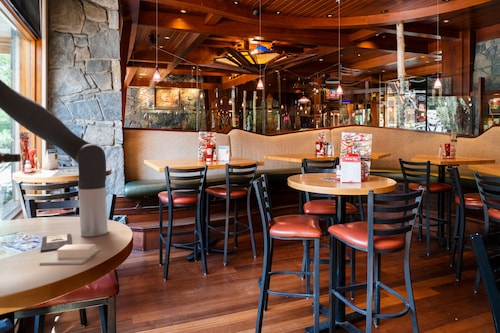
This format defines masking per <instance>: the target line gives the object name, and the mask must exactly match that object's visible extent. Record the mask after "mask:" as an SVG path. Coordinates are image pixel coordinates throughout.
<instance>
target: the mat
mask: <svg viewBox="0 0 500 333" xmlns="http://www.w3.org/2000/svg"><path fill="white" fill-rule="evenodd" d="M99 252H100V248H95V253H94V254H92V255H91V256H90V257H88V258H57V251H56V252H55V253H53V254H51V255H50V256H48V257H47V258H45V259H43V260H42V261H40V262H38V264H39V266H43V265H45V266H47V265H48V266H49V265H50V266H51V265H52V266H53V265H54V266H55V265H56V266H57V265H58V266H59V265H83V264H84V263H86V262H87V261H88V260H90V259H91V258H92V257H94V255H96V254H97V253H99Z"/></svg>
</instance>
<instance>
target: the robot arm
mask: <svg viewBox="0 0 500 333" xmlns="http://www.w3.org/2000/svg"><path fill="white" fill-rule="evenodd" d="M0 109H1V110H2V112H4V113H6V115H8V116H9V117H10V118H11V119H12V120H14V121H15V122H17V124H19V125H20V126H22V127H23V128H25V129H26V130H27V131H29V132H30V133H31V134H33V135H35V136H37V137H38V138H40V139H41V140H43V141H45V142H47V143H49V144H51V145H52V146H54V147H56V148H58V149H60V151H63V152H64V153H65V154H66V155H67V156H69V157H70V158H71V159H72V160H73V161H74V162H76V163H77V166H78V179H77V182H78V183H77V185H78V186H77V187H78V190H77V191H78V206H79V222H80V226H79V227H80V236H81V237H85V238H86V237H88V238H89V237H99V236H102V235H105V234H108V233H109V232H108V230H109V229H108V211H107V190H106V189H107V188H106V182H107V158H106V157H107V156H106V153H105V151H104V149H103V148H102V147H101V146H99V145H97V144H92V143H90V142H89V141H87V140H85V139H84V138H82V137H80V136H78V135H77V134H75V133H74V132H73V131H71V129H69V127H67V125H65V124H64V122H63V121H61V119H60V118H59V117H57V116H56V115H54V114H53V113H52V112H50V111H49V110H48V109H47V108H46V107H44V106H43V105H41V104H40V103H38V102H37V101H35V100H34V99H32V98H30V97H28V96H26V95H24V94H23V93H20V91H19V92H18V91H16V90H15V89H13V88H12V87H10V86H9V85H8V84H6V83H5V82H4V81H3V80H2V79H0ZM21 161H22V156H21V154H20V153H9V152H6V153H3V152H1V151H0V165H1V164H4V163H6V164H7V163H18V162H19V163H20V162H21Z"/></svg>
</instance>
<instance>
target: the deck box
mask: <svg viewBox="0 0 500 333" xmlns="http://www.w3.org/2000/svg"><path fill="white" fill-rule="evenodd" d="M95 249H96V243H92V244H90V243H89V244H86V243H85V244H84V243H83V244H82V243H80V244H72V245H64V246H63V247H61V248H59V249H57V250H56V252H57V258H88V257H90V256H91V255H92V254H94V253H95Z"/></svg>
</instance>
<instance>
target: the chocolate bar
mask: <svg viewBox="0 0 500 333" xmlns="http://www.w3.org/2000/svg"><path fill="white" fill-rule="evenodd" d="M64 245H73V240H72V233H66V234H59V235H50V236H43V237H42V240H41V245H40V246H41V247H40V253H45V252H46V253H47V252H54V251H57V249H59V248H61V247H63V246H64Z"/></svg>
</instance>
